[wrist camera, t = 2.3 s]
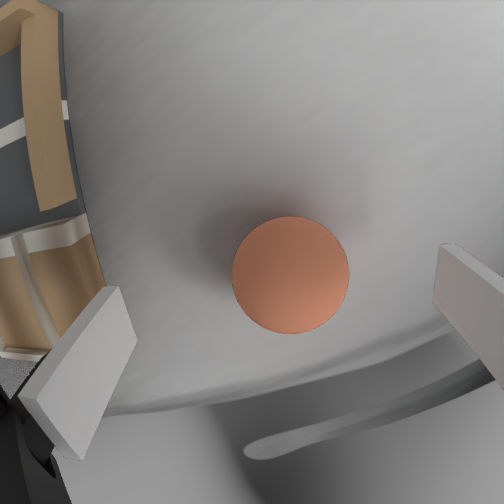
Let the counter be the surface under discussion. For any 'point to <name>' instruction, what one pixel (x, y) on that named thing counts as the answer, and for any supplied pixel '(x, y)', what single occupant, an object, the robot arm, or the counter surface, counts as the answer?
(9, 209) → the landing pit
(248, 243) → the ball
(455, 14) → the counter surface
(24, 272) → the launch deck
